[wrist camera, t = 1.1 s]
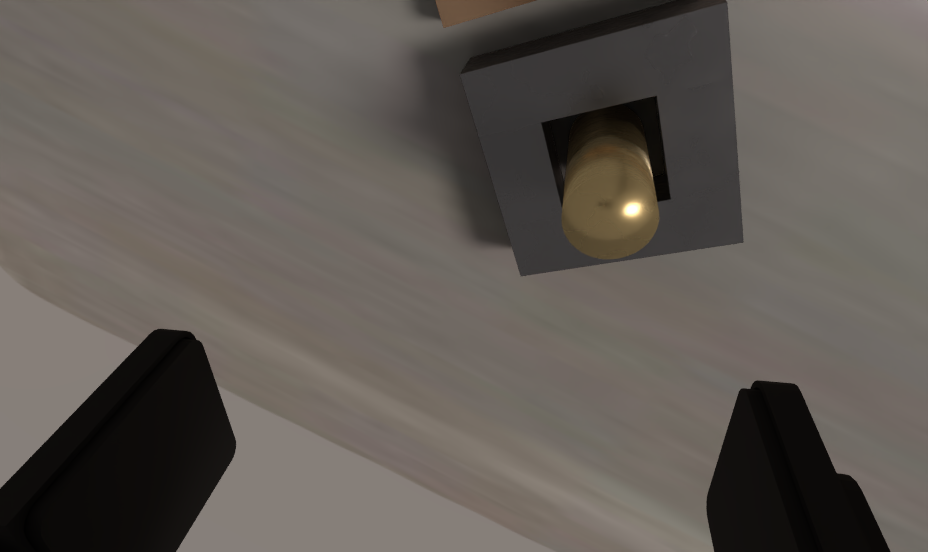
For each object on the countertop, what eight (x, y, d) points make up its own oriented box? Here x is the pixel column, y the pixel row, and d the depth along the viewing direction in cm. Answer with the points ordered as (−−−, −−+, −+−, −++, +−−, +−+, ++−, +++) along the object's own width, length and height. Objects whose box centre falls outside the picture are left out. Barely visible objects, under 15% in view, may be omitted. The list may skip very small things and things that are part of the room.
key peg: (638, 94, 31) (652, 166, 23) (649, 164, 33) (665, 251, 25) (562, 112, 32) (552, 186, 25) (576, 179, 34) (571, 265, 27)
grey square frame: (715, -11, 27) (727, 2, 25) (732, 214, 33) (743, 242, 31) (470, 57, 31) (459, 74, 29) (525, 249, 37) (520, 276, 35)
